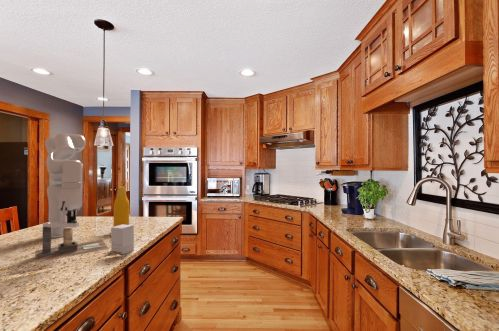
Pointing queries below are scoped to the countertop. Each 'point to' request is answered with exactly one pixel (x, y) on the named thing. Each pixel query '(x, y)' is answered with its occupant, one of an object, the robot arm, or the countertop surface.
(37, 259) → the eye board
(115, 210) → the beer bottle
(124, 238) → the supplement box
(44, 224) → the locking bar
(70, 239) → the oak peg
